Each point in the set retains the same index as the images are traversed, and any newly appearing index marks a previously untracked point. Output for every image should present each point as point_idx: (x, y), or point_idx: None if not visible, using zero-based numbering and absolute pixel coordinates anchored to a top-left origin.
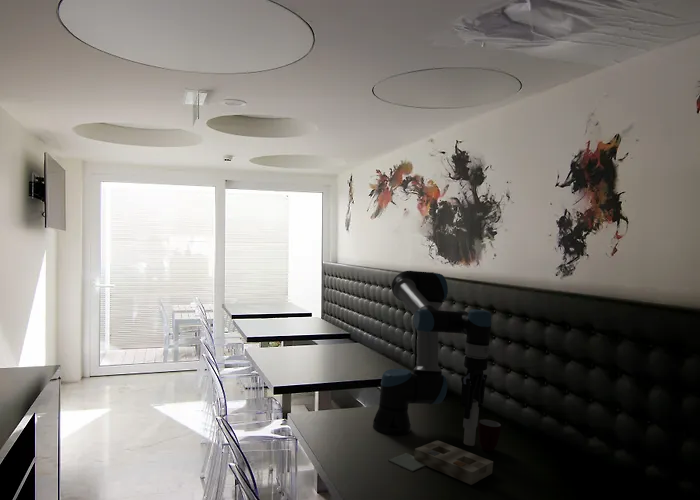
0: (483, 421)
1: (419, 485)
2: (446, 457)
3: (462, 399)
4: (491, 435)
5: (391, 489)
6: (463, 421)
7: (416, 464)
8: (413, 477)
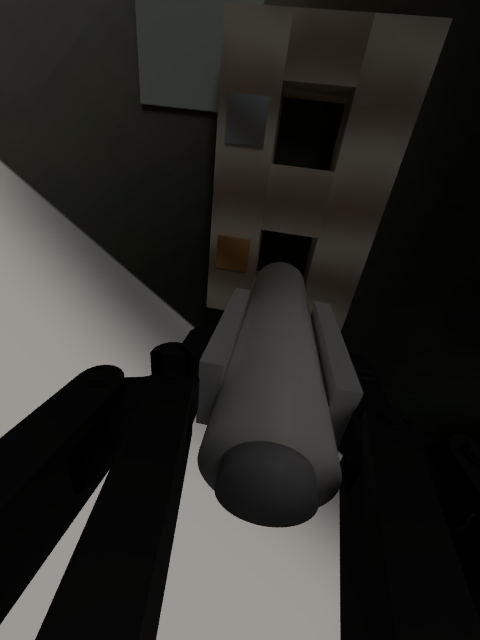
0: None
1: (93, 183)
2: (248, 191)
3: (12, 450)
4: None
5: (3, 131)
6: (229, 302)
7: (196, 79)
8: (115, 136)
